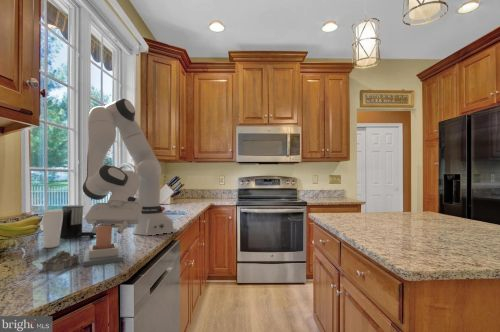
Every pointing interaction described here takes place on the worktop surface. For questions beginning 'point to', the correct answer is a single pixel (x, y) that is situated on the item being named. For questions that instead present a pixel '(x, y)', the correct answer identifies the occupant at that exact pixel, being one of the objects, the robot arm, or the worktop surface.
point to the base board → (102, 255)
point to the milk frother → (73, 222)
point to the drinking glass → (52, 227)
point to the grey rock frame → (60, 261)
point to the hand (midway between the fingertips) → (106, 232)
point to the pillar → (103, 237)
